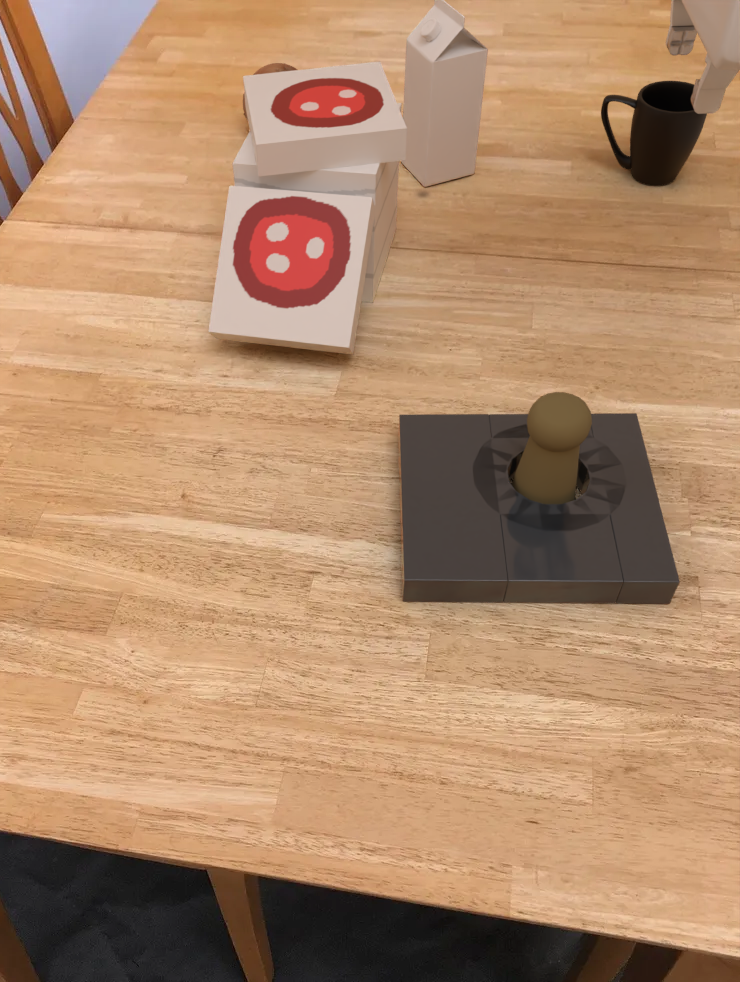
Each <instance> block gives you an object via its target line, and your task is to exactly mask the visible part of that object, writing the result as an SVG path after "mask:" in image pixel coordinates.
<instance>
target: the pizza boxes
mask: <svg viewBox="0 0 740 982" xmlns="http://www.w3.org/2000/svg"><path fill="white" fill-rule="evenodd" d="M242 81H243V94H244V95H245V107H246V112H247V118H248V121H247V123H248V127H249V132H248V134H246V137H245V139H244V141H243V143H242V144H241V146H240V148H239V150H238V152H237V154H236V155H235V157H234V159H233V161H232V164H231V165H232V173H233V182H234V183H233V185H229V186H228V191H227V199H226V205H225V214H224V220H223V227H222V234H221V241H220V247H219V254H218V261H217V268H216V274H215V283H214V289H213V297H212V303H211V309H210V316H209V317H210V318H209V325H208V330H207V332H208V333H209V334H210V335H212V336H213V338H215V339H216V340H223V341H230V342H231V341H232V342H241V343H251V344H258V345H259V344H260V345H267V346H275V347H284V348H291V349H293V348H294V349H302V350H308V351H309V350H311V351H319V352H328V353H336V354H345V355H354V352H355V345H356V338H357V332H358V326H359V319H360V312H361V306H362V303H372V304H373V303H374V301H375V298H376V294H377V292H378V288H379V285H380V282H381V279H382V275H383V273H384V269H385V267H386V263H387V259H388V257H389V254H390V250H391V247H392V244H393V240H394V237H395V235H396V232H397V221H398V220H397V219H398V197H399V176H400V175H399V174H400V162H401V161H403V160H405V154H406V137H407V127H406V125H405V122H404V120H403V114H402V105H403V103H402V102H397V100H396V97H395V94H394V92H393V89H392V87H391V85H390V84H391V83H390V82H389V79H388V77H387V75H386V72H385V70H384V67H383V64H382V62H381V61H380V60H379V61H370V62H369V61H368V62H361V63H351V64H350V63H349V64H342V65H341V64H340V65H332V66H323V67H314V68H305V69H297V70H294V71H285V72H275V73H266V74H257V75H253V74H249V75H242Z"/></svg>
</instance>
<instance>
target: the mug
mask: <svg viewBox="0 0 740 982" xmlns="http://www.w3.org/2000/svg"><path fill="white" fill-rule="evenodd" d="M694 85H695V83H690V82H687V81H680V80H659V81H654V82H651V83H648V84H646V85H644V86H643V87H642V88H641V89H640V90H639V91H638V93H637V96H636V99H635V98H632V97H628V96H625V95H622V94H621V95H619V94H608V95H606V96H605V97H604V98H603V100H602V104H601V108H600V118H601V122H602V126H603V128H604V131H605V134H606V136H607V137H606V138H607V139H608V143H609V145H610V148H611V150H612V152H613V155H614V157H615V160H616V162H617V163H618V164H619V166H620V167H621V168H623V169H624V170H628V171H630V176H631V178H632V179H633V180H634V181H636V182H638V183H639V184H642V185H645V186H650V187H651V186H653V187H662V186H667V185H670V184H671V183H674V182H675V181H676V179H677V177H678V175H679V173H680V172H681V170H682V169H683V167H684V166H685V165H686V162H687V161H688V159H689V158H690V156H691V154H692V152H693V150H694V149H695V146H696V144H697V142H698V140H699V138H700V136H701V133H702V132H703V131H702V130H703V128H704V126H705V122H706V119H707V116H708V114H698V113H696V112H695V111H694V108H693V106H692V103H691V95H692V94H693V88H694ZM612 102H615V103H616V102H617V103H621V104H624V105H627V106H628V107H631V108H633V113H632V117H631V126H630V132H629V133H630V134H629V135H630V136H629V155H628V154H626V153H624V152H623V150H622V149H621V148H620V146H619V144H618V142H617V140H616V137H615V135H614V132H613V129H612V126H611V123H610V117H609V104H610V103H612Z"/></svg>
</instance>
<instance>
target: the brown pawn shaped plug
mask: <svg viewBox="0 0 740 982" xmlns="http://www.w3.org/2000/svg"><path fill="white" fill-rule="evenodd" d="M527 414H528V417H527V428H528V433H529V435H530V437H529V439H528V442H527V444H526V447H525V449H524V452H523V454H522V457H521V460H520V462H519V465H518V467H517V470H516V472H515V475H514V477H513V478H512V479H511V481H510V483H511V484H512V486H513V487H514V489H515V490H516V491H517V492H519V493H520V494H522V495H523V496H525V497H526V498H528V499H529V500H532V501H536V502H539V503H543V504H563V503H567V502H570V501H573V500H576V493H577V486H576V483H577V472H578V460H579V449H580V444H581V443H582V442H583V441H584V440H585V439H586V437H587V436H588V434H589V431H590V428H591V425H592V417H591V414H592V411H591V410H590V408H589V405H588V404H587V403H586V401H584V400H583V398H581V397H579V396H577V395H575V394H573V393H569V392H565V391H556V392H554V391H553V392H549V393H548V392H547V393H546V394H544V395H542V396H540V397H539V398H538V399H537V400H535V401H534V402H533V403H532V404H531V407H530V408H529V411H528V413H527Z"/></svg>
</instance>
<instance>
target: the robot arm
mask: <svg viewBox="0 0 740 982" xmlns="http://www.w3.org/2000/svg"><path fill="white" fill-rule="evenodd" d="M670 2H671V3H670V16H669V17H670V18H669V19H670V20H669V23H670V24H669V26H668V30H667V35H666V39H665V46H666V49H667V50H668V52H669V55H671V56H688V55H689V54H691V53H692V51H693V48H694V45H695V41H696V39H697V35H698V37H699V40H700V41H701V43H702V46H703V47H704V49H705V51H706V55H705V59H704V62H705V67H704V70H703V72H702V74H701V77H700V78H696V79H695V81H694V88H693V94H692V95H691V103H692V106H693V108H694V111H695V112H696V113H698V114H707V115H708V114H714V113H717V112H719V109H721V106H722V102H723V100H724V96H725V93H726V89H728V87H729V86H730V84H731V83H732V81H733V80H734V79H735V77H736V76H737V75H738V73H739V71H740V0H670Z"/></svg>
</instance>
